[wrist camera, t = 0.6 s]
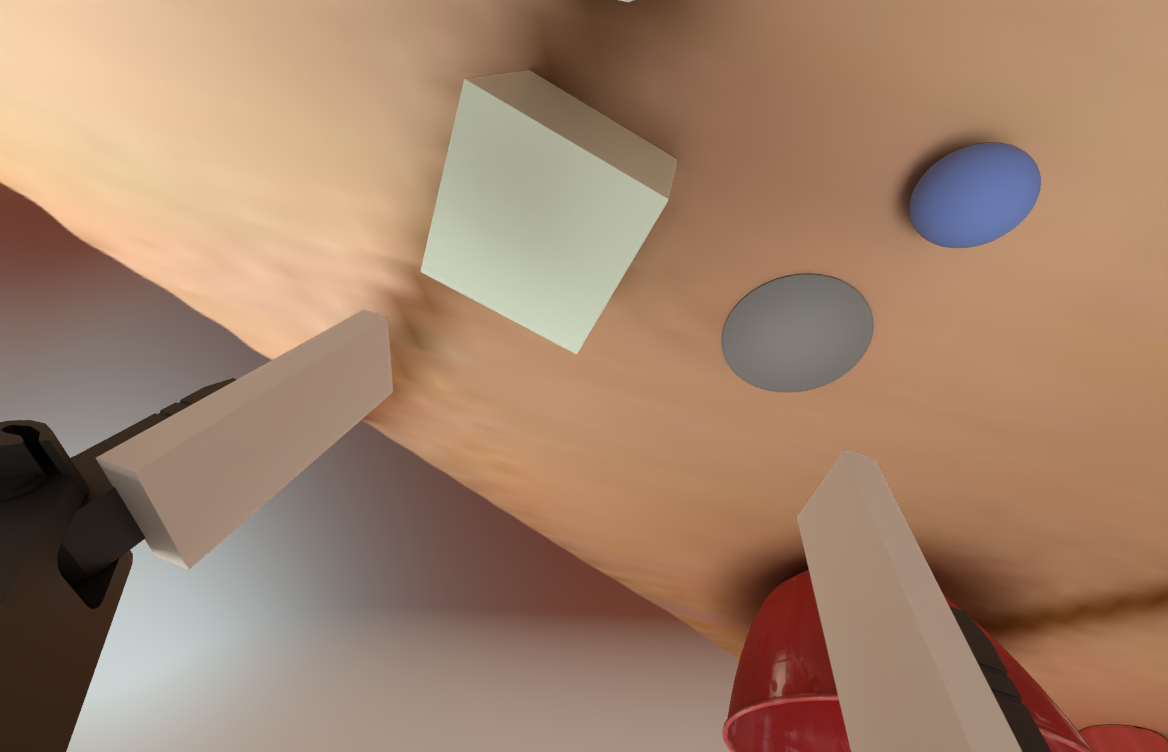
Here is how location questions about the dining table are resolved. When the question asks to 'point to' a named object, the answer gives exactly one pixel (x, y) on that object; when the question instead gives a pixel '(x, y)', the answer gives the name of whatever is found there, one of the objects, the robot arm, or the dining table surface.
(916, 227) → the ball
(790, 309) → the grey spot
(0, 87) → the dining table surface
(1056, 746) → the mixing bowl
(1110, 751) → the flower pot
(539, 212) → the pale green brick
